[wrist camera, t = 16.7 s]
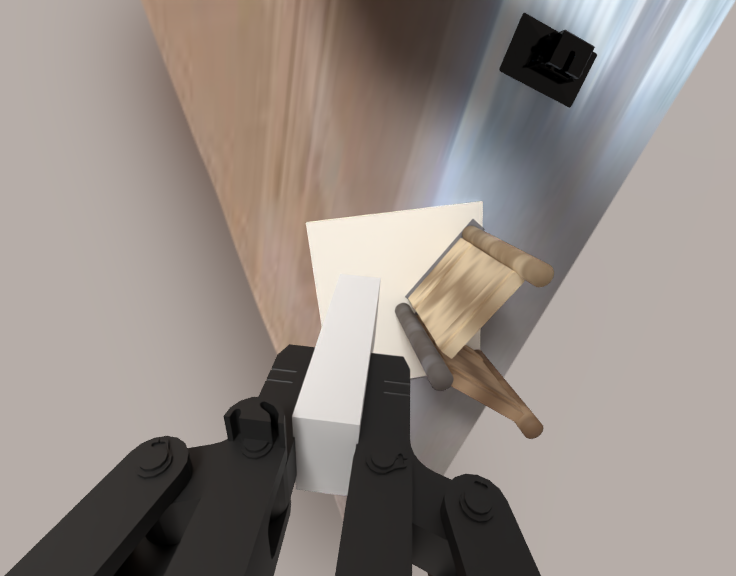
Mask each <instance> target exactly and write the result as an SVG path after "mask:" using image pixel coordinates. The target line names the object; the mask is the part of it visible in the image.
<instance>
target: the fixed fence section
mask: <svg viewBox="0 0 736 576" xmlns="http://www.w3.org/2000/svg"><path fill="white" fill-rule="evenodd" d="M462 238H463V239H462ZM462 238H460V239H459V240H458V241H457V243H456V244H455V245H454V246H453V247H452V248H451V249H450V251H449V252H448V253H447V254H446V255H445V256H444V257H443V259H442V260H441V261H440V262H439V263H438V264H437V265H436V267H435V268H434V269H433V270H432V271H431V272H430V273H429V275H428V276H427V277H426V278H425V279H424V280H423V281H422V283H421V284H420V285H419V286H418V287H417V288H416V289H415V291H414V292H413V293H412V294H411V295H410V296H409V298H408V299H409V301H410V302H411V305H412V306H413V308H414V309H415V310H416V312H417V313H418V315H419V316H420V318H421V319H422V321H423V323H424V324H425V326H426V327H427V329H428V330H429V332H430V334H431V335H432V337H433V338H434V340H435V341H436V342H435V343H436V344H437V346H438V347H439V349H441V351H442V352H443V353H444V354H445V355H447V356H448V357H450V358H451V359H452V358H453V357H454V356H455V355H456V354H457V353H458V352H459V351H460V350H461V349H462V347H463V346H464V345H465V344H466V343H467V342H468V341H469V340H470V339H471V338H472V337H473V336H474V335H475V334H476V333H477V332H478V330H479V329H480V328H481V327H482V326H483V325H484V324H485V323H486V322H487V321H488V320H489V319H490V318H491V317H492V316H493V314H494V313H495V312H496V311H497V310H498V309H499V308H500V307H501V306H502V305H503V304H504V303H505V302H506V301H507V300H508V298H509V297H510V296H511V295H512V294H513V293H514V292H515V291H516V290H517V289H518V288H519V287H520V286H521V285H522V284H523V282H524V281H525V280H526V281H528V282H529V283H531V284H532V285H534V286H536V287H544V286H546V285H547V284H549V283H550V282H551V280H552V279H553V276H554V270H553V268H552V266H550V265H549V264H547V263H545V262H543V261H541V260H539V259H537V258H535V257H533V256H531V255H529V254H527V253H526V252H524V251H522V250H520V249H518V248H516V247H514V246H512V245H510V244H508V243H506V242H504V241H502V240H500V239H498V238H496V237H494V236H492V235H491V234H489V233H487V232H485V231H483V230H481V229H479V228H477V227H475V226H467V227H466V228H465V229H464V230H463V232H462ZM521 277H522V278H521ZM524 279H525V280H524ZM395 314H396V316H397V318H398V320H399V322H400V324H401V326H402V328H403V330H404V332H405V334H406V336H407V338H408V340H409V342H410V344H411V346H412V348H413V350H414V352H415V354H416V355H417V357H418V359H419V361H420V363H421V365H422V367H423V369H424V371H425V373H426V375H427V377H428V379H429V381H430V383H431V385H432V387H433V388H434V389H435V390H438V391H443V390H446V389H448V388H449V387H450V386H451V385H452V383H453V380H454V378H453V375H452V374H451V372H450V370H449V369H448V367H447V366H446V364H445V362H444V361H443V359H442V357H441V356H440V354H439V353H438V351H437V349H436V348H435V346H434V344H433V343H432V341H431V340H430V338H429V336H428V335H427V333H426V331H425V330H424V328H423V327H422V325H421V323H420V322H419V320H418V318H417V317H416V315H415V314H414V312H413V310H412V309H411V307H410V306H409V305H408V304H407V303H400V304H398V305H397V306H396V308H395Z"/></svg>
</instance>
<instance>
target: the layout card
mask: <svg viewBox="0 0 736 576" xmlns="http://www.w3.org/2000/svg"><path fill="white" fill-rule="evenodd" d="M482 217H483V202H482V201H478V202H469V203H461V204H453V205H444V206H436V207H428V208H419V209H411V210H403V211H394V212H386V213H378V214H369V215H361V216H353V217H344V218H336V219H328V220H320V221H311V222H306V226H307V233H308V239H309V246H310V252H311V259H312V266H313V272H314V279H315V285H316V292H317V298H318V305H319V311H320V318H321V325H322V326H323V323H324V320H325V317H326V314H327V311H328V308H329V305H330V302H331V299H332V296H333V293H334V290H335V287H336V284H337V281H338V278H339V275H340V274H347V275H356V276H366V277H375V278H381V281H380V292H379V303H378V313H377V324H376V335H375V343H374V351H373V353H377V354H386V355H394V356H403V357H404V358H405V360H406V362H407V364H408V366H409V368H410V378H416V377H422V376H427V375H426V373H425V371H424V369H423V367H422V365H421V363H420V361H419V359H418V357H417V355H416V354H415V352H414V350H413V348H412V346H411V344H410V342H409V340H408V338H407V336H406V334H405V332H404V330H403V328H402V326H401V324H400V322H399V320H398V318H397V316H396V314H395V308H396V306H397V305H398V304H400V303H407V304H408V305H409V306H410V307H411V309H412V310H413V312H414V314H415V315H416V316H417V315H418V313H417V312H416V310H415V309H414V308H413V306H412V305H411V302H410V301H409V299H408V298H409V296H410V295H411V294H412V293H413V292H414V291H415V289H416V288H417V287H418V286H419V285H420V284H421V283H422V281H423V280H424V279H425V278H426V277H427V276H428V275H429V273H430V272H431V271H432V270H433V269H434V268H435V267H436V265H437V264H438V263H439V262H440V261H441V260H442V259H443V257H444V256H445V255H446V254H447V253H448V252H449V251H450V249H451V248H452V247H453V246H454V245H455V244H456V243H457V241H458V240H459V239H460V238H462V232H463V230H464V229H465V228H466V227H467V226H475V227H477V228H479V229H481V230H483V231H484V228H483V227H482ZM462 239H463V238H462ZM418 316H419V315H418ZM480 330H481V328H480V329H479V330H478V332H477V333H476V334H475V335H474V336H473V337H472V338H471V339H470V340H469V341H468V342H467V343H466V344H465V345H467V346H469V347H470V348H472V349H473V350H475V349H479V350H480Z"/></svg>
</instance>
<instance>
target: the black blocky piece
mask: <svg viewBox="0 0 736 576" xmlns="http://www.w3.org/2000/svg"><path fill="white" fill-rule="evenodd" d="M594 48H595V47H594V46H593V45H591V44H589V43H587V42H586V41H584V40H582V39H581V38H579V37H577V36H575V35H574V34H572V33H570V32H568V31H567V30H563V31H561V32H558V31H556V30H554V29H552V28H551V27H549V26H547V25H545V24H543V23H542V22H540V21H538V20H536V19H535V18H533V17H531V16H529V15H528V14H526V13H523V15H522V17H521V19H520V22H519V24H518V26H517V29H516V31H515V33H514V36H513V38H512V41H511V43H510V45H509V48H508V50H507V52H506V55H505V57H504V59H503V62H502V64H501V66H500V69H499V70H500V71H501V72H503V73H504V74H506V75H508V76H510V77H512V78H514V79H516V80H518V81H520V82H522V83H524V84H525V85H527V86H529V87H531V88H533V89H535V90H537V91H539V92H541V93H543V94H544V95H546V96H548V97H550V98H552V99H554V100H556V101H558V102H560V103H562V104H563V105H565V106H567V107H571V106H572V104H573V102H574V100H575V98H576V96H577V94H578V92H579V90H580V88H581V86H582V84H583V82H584V80H585V78H586V76H587V74H588V72H589V70H590V68H591V66H592V64H593V62H594V60H595V58H596V57H597V54H596V53H594V52H593V50H594Z"/></svg>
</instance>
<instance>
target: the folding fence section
mask: <svg viewBox="0 0 736 576" xmlns="http://www.w3.org/2000/svg"><path fill="white" fill-rule="evenodd" d="M416 317H417V318H418V320H419V322H420V323H421V325H422V327H423V328H424V330H425V331H426V333H427V335H428V336H429V338H430V340H431V341H432V343H433V344H434V346H435V348H436V349H437V351H438V353H439V354H440V356H441V357H442V359H443V361H444V362H445V364H446V366H447V367H448V369H449V370H450V372H451V374H452V375H453V378H454V380H453V383H452V385H451V386H452V387H454V388H455V389H457V390H459V391H461V392H463V393H464V394H466V395H468V396H470V397H471V398H473V399H475V400H477V401H479V402H480V403H482V404H484V405H486V406H488V407H489V408H491V409H493V410H495V411H496V412H498V413H500V414H502V415H504V416H505V417H507V418H509V419H511V420H512V421H514V422H515V423H516V424H517V426H518V427H519V429H520V430H521V431H522V433H523V434H524V435H525V437H526V438H529V439H533V438H536V437H538V436H539V435H540V434H541V433H542V432H543V425H542V424H541V423H540V421H539V420H538V419H537V418H536V417H535V415H534V414H533V413H532V412H531V410H530V409H529V408H528V407H527V406H526V404H525V403H524V402H523V401H522V400H521V398H520V397H519V396H518V395H517V393H516V392H515V391H514V390H513V389H512V387H511V386H510V385H509V384H508V383H507V382H506V380H505V379H504V378H503V376H502V375H501V374H500V373H499V372H498V370H497V369H496V368H495V367H494V366H493V364H492V363H491V362H490V361H489V360H488V358H487V357H486V356H485V355H484V353H483V352H482V351H481V350H479V349H475V350H473V349H472V348H470V347H469V346H467V345H464V346H463V347H462V349H461V350H460V351H459V352H458V353H457V354H456V355H455V356H454V357H453V358H452V359H451V358H450V357H448V356H447V355H445V354H444V353H443V352H442V351H441V349H439V347H438V346H437V344H436V343H435V342H436V341H435V340H434V338H433V337H432V335H431V334H430V332H429V330H428V329H427V327H426V326H425V324H424V323H423V321H422V319H421V318H420V316H418V315H417V316H416Z"/></svg>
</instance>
